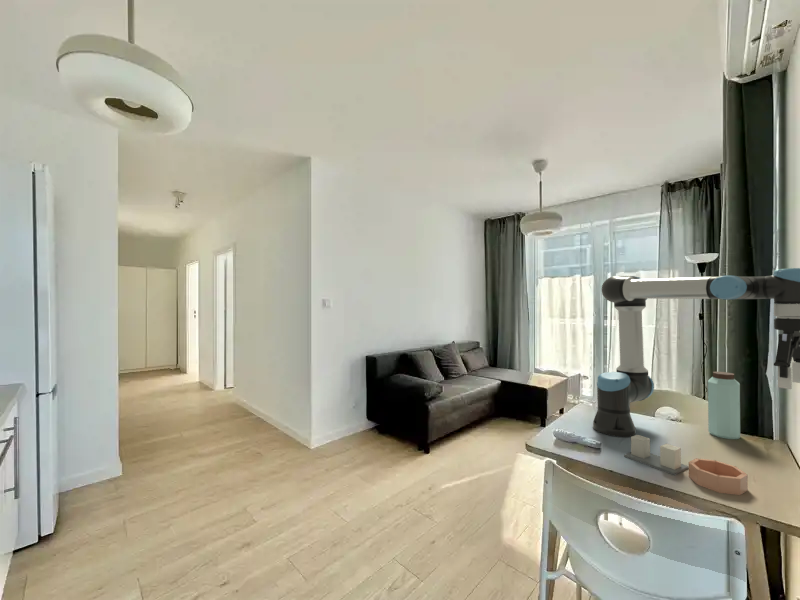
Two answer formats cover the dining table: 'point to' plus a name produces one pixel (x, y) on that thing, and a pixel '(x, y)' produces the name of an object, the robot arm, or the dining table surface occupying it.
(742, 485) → the bowl
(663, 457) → the stone
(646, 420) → the dining table surface
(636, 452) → the stone
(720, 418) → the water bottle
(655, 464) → the slate board
